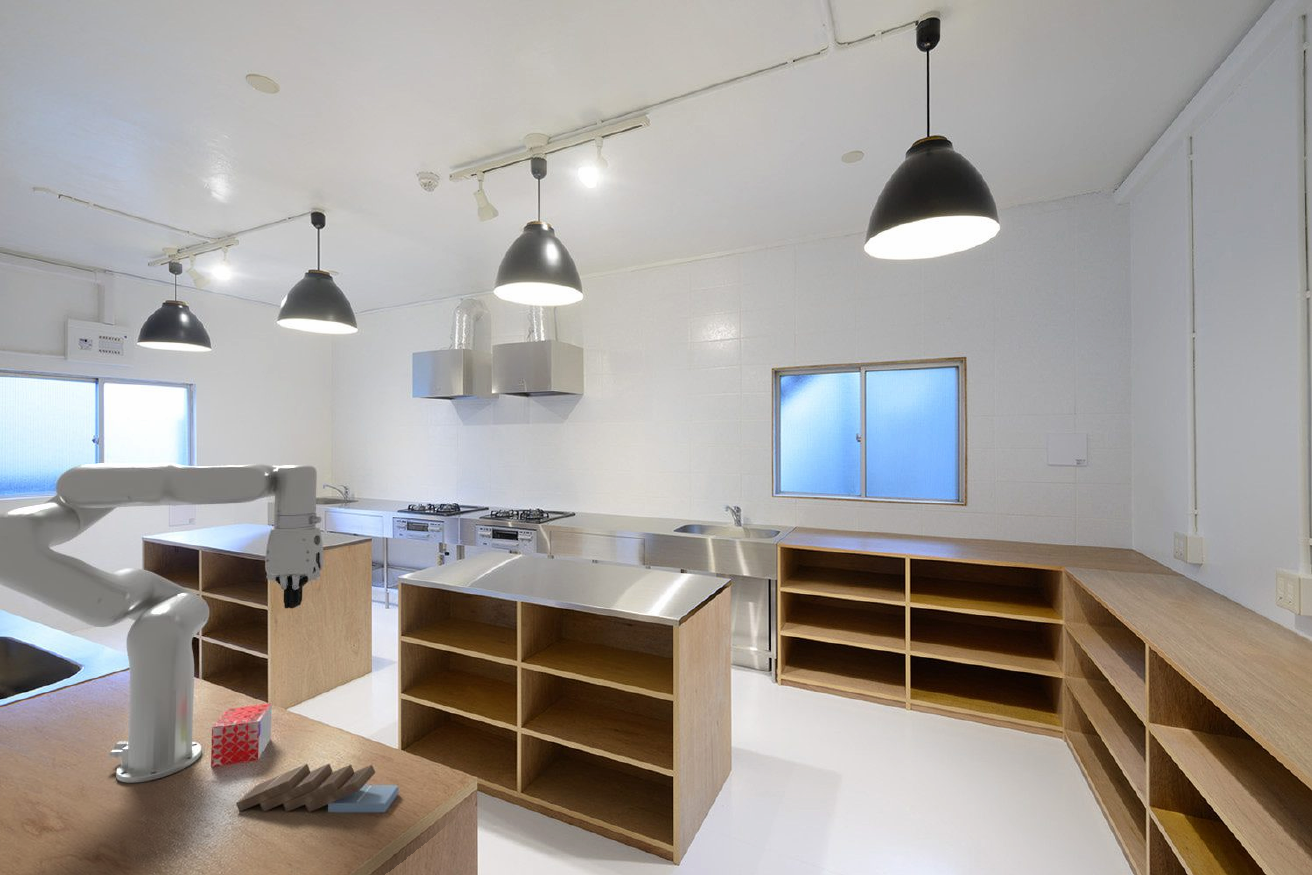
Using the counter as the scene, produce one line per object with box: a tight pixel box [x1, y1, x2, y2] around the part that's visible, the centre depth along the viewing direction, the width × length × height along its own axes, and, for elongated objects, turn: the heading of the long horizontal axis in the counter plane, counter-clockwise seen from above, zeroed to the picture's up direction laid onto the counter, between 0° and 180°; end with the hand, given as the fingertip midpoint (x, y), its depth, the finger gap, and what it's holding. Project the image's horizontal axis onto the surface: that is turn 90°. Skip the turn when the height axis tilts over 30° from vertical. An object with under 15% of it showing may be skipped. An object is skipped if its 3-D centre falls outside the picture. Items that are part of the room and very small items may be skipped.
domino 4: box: [304, 764, 376, 813], centre depth 97 cm, size 2×5×10 cm
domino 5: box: [327, 784, 399, 813], centre depth 97 cm, size 2×5×10 cm
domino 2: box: [259, 763, 334, 813], centre depth 97 cm, size 2×5×10 cm
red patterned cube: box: [210, 702, 273, 768], centre depth 112 cm, size 8×8×8 cm
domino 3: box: [282, 764, 355, 813], centre depth 97 cm, size 2×5×10 cm
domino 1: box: [235, 763, 311, 812], centre depth 97 cm, size 2×5×10 cm
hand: (292, 606), depth 117 cm, fingers closed
